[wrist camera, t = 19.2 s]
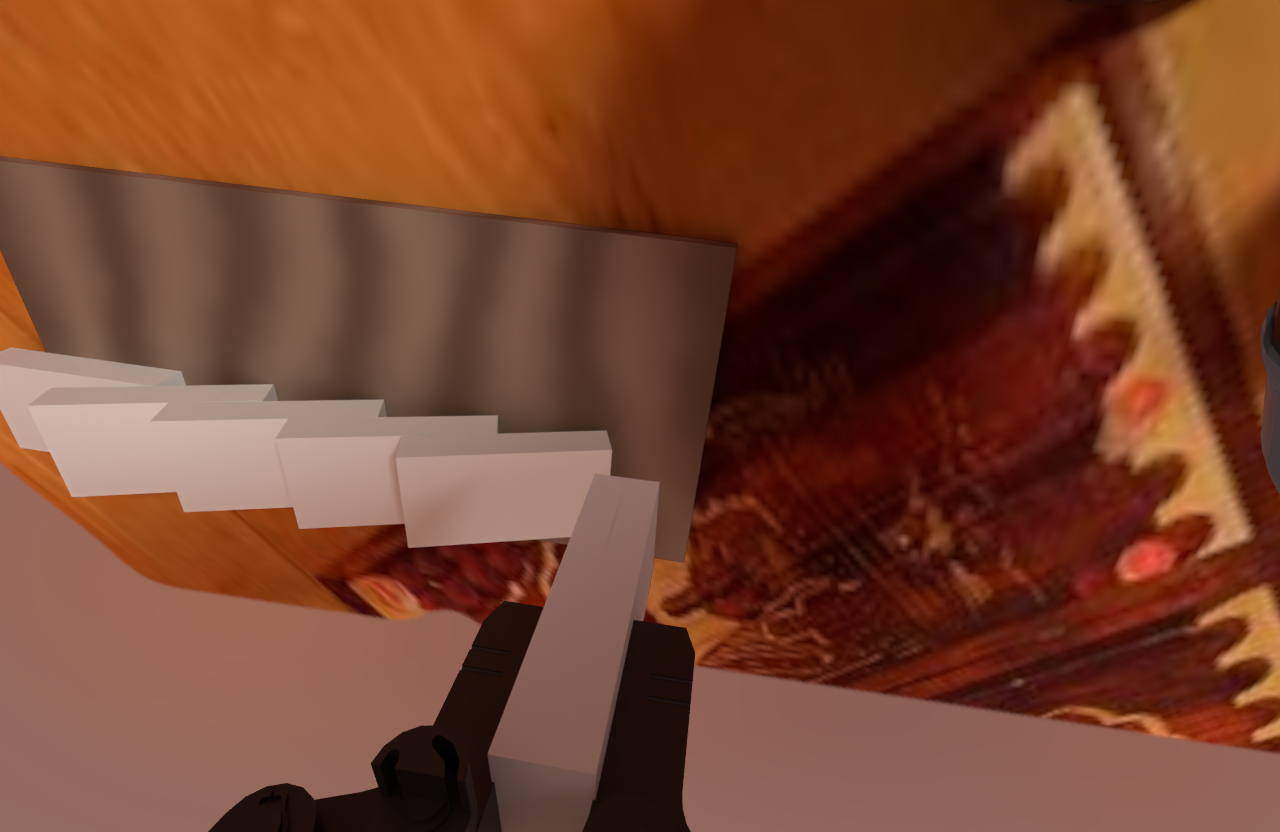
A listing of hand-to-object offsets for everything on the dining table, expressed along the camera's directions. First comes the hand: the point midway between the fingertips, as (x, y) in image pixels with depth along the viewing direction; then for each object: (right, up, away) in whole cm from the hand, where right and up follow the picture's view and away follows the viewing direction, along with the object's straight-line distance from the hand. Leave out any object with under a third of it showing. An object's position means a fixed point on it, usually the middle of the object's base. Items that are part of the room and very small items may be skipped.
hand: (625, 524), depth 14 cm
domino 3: (-15, 0, +21) cm, 26 cm away
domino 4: (-8, 0, +21) cm, 22 cm away
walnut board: (-16, +5, +21) cm, 27 cm away
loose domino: (-2, -1, +20) cm, 20 cm away
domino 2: (-21, +1, +22) cm, 30 cm away
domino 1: (-27, +2, +22) cm, 35 cm away
